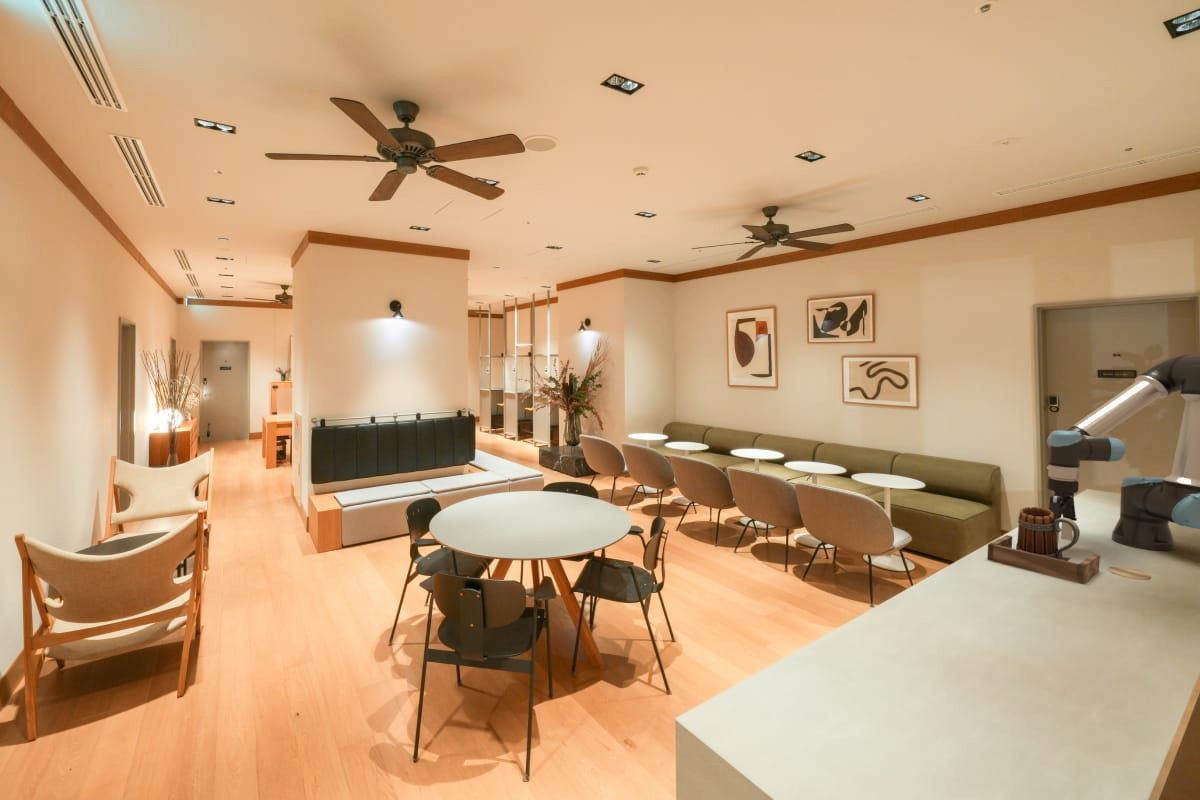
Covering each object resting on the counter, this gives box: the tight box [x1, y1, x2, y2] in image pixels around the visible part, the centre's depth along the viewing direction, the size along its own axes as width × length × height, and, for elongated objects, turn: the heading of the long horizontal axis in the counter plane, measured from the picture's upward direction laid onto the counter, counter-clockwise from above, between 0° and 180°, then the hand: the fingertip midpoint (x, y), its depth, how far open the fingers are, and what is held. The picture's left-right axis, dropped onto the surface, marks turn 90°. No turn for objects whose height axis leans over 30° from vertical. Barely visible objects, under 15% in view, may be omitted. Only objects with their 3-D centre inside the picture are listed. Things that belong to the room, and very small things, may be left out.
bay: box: [986, 535, 1101, 585], centre depth 163 cm, size 16×23×5 cm
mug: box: [1015, 506, 1081, 561], centre depth 165 cm, size 16×11×15 cm
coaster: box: [1107, 566, 1152, 581], centre depth 156 cm, size 9×9×1 cm
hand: (1059, 543), depth 173 cm, fingers open, 13 cm apart
